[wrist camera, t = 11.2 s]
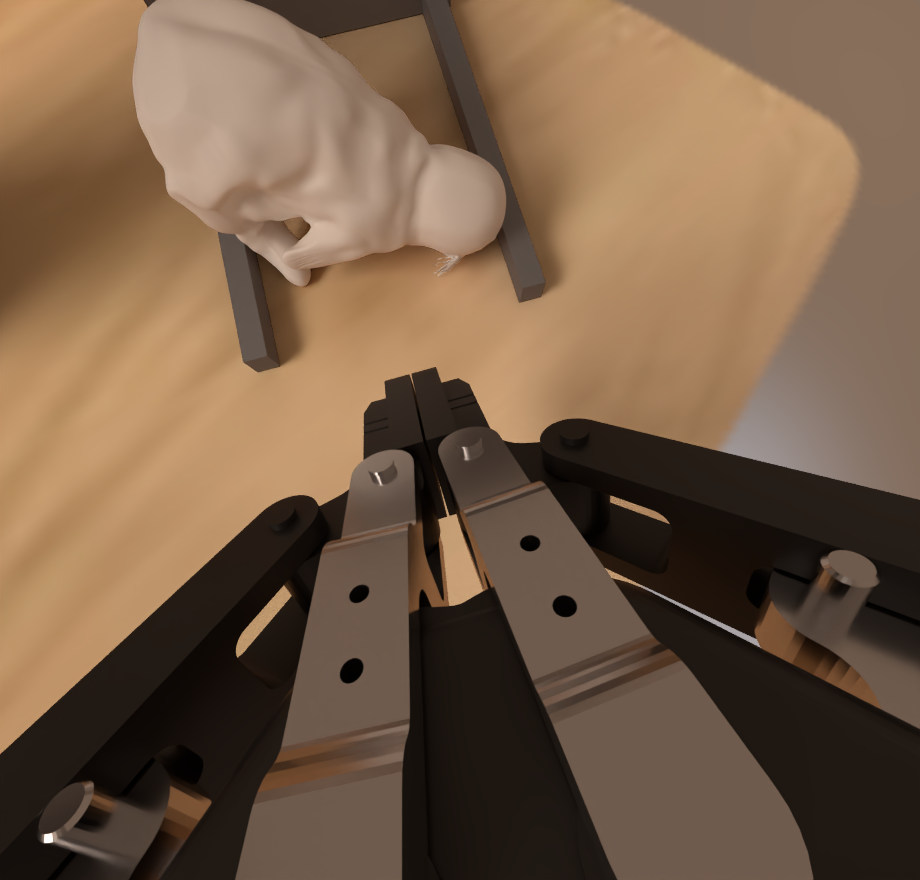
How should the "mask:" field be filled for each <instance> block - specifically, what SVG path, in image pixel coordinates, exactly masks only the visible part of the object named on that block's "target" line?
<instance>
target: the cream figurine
mask: <svg viewBox="0 0 920 880" xmlns="http://www.w3.org/2000/svg"><path fill="white" fill-rule="evenodd" d="M132 82H133V94H134V100H135V106H136V113H137V118H138V121H139V124H140V126H141V129H142V131H143V133H144V134H145V136H146V138H147V140H148V142H149V144H150V146H151V149H152V151H153V154H154V156H155V157H156V159H157V160H158V161H159V163H160V164H161V165H162V166H163V168H164V171H165V181H166V188H167V192H168V194H169V195H170V196H171V197H172V198H173V199H174V200H176V201H177V202H179V203H180V204H182V205H183V206H185V207H186V208H187V209H189V210H190V211H191V212H193V213H194V214H195V215H196V216H198V217H199V218H200V219H201V220H202V221H203V222H204V223H205V224H206V225H208V226H209V227H210V228H212V229H213V230H215V231H218V232H221V233H226V234H235V235H236V236H237V238H238V239H239V240H240V241H241V242H243V243H245V244H246V245H247V246H248V247H249V248H250V249H252V250H253V251H254V252H256V253H258V254H260V255H262V256H263V257H264V258H266V259H267V260H268V261H269V262H270V263H271V264H273V265H274V266H275V267H276V268H277V269H278V270H279V271H280V272H281V273H282V274H283V275H284V277H285V278H286V279H287V280H288V281H290V282H291V283H292V284H294V285H297V286H300V287H303V286H306V285H307V284H308V283H309V281H310V277H311V270H310V269H311V268H318V267H323V266H328V265H332V264H337V263H342V262H347V261H352V260H356V259H359V258H362V257H364V256H367V255H369V254H372V253H387V252H391V251H395V250H397V249H399V248H401V247H403V246H404V245H413V246H426V247H429V248H432V249H435V250H436V251H439V252H441V253H444V254H445V255H446V256H447V257H446V258H452V259H451V260H449V261H448V260H447V261H446V262H448V263H447V264H445V265H444V266H442V267H441V268H440V269H439V270H437V271H436V272H434V273H433V274H435V273H437V272H439V271H441V270H442V272H440V273H439V275H438V276H440V275H441V274H442V273H444V272H446V271H447V272H448V271H449V270H450V269H451V268H452V267H453V266H454V265H456V264H457V263H458V262H459V261H460V259H461V258H462V257H464V256H465V255H468V254H471V253H474V252H476V251H479V250H481V249H482V248H484V247H485V246H486V245H487V244H489V243H490V242H492V241H493V240H495V238H496V236H497V234H498V232H499V230H500V228H501V226H502V224H503V220H504V216H505V211H506V192H505V187H504V183H503V180H502V178H501V176H500V174H499V173H498V171H497V170H496V169H495V168H494V167H493V166H492V165H491V164H490V163H489V162H487V161H486V160H485V159H483V158H481V157H479V156H478V155H475V154H473V153H471V152H469V151H466V150H464V149H461V148H458V147H454V146H450V145H444V144H433V145H430V144H428V142H427V140H426V138H425V137H424V135H423V134H421V133H420V132H419V131H417V130H416V129H415V128H414V127H413V125H412V124H411V122H410V121H409V119H408V117H407V116H406V114H405V113H404V112H403V111H402V110H401V109H400V108H399V107H398V106H397V105H396V104H394V103H393V102H392V101H391V100H389V99H386V98H385V97H383V96H381V95H380V94H379V93H377V92H376V91H375V90H374V89H373V88H372V87H371V86H370V85H369V84H368V83H367V82H366V81H365V79H364V78H363V77H362V75H361V74H360V73H359V71H358V70H357V69H356V68H355V66H354V65H353V64H352V63H351V62H350V61H349V60H348V59H347V58H345V57H344V56H343V55H341V54H340V53H338V52H336V51H335V50H333V49H331V48H330V47H329V46H328V45H327V44H326V43H325V42H323V41H322V40H321V39H320V38H318V37H316V36H315V35H313V34H311V33H309V32H306V31H304V30H302V29H300V28H299V27H297V26H295V25H294V24H292V23H291V22H289V21H288V20H287V19H285V18H284V17H282V16H281V15H279V14H277V13H275V12H273V11H271V10H269V9H267V8H264V7H262V6H259V5H257V4H254V3H251V2H248V1H245V0H156V1H155V2H154V3H152V4H151V5H150V6H149V7H148V8H147V9H146V10H145V11H144V13H143V14H142V17H141V19H140V23H139V27H138V42H137V49H136V54H135V60H134V67H133V77H132ZM295 217H302V218H303V219H304V220H305V221H306V222H307V223H309V224H310V226H311V228H310V230H309V232H308V233H307V234H306V235H305V236H304V237H303V238H302V239H301V240H300V241H299V239H298V238H297V237H296V236H295V235H294V234H293V233H292V232H291V231H290V230H289V229H288V228H287V226H286V225H285V224H284V222H283V221H284V220H287V219H291V218H295ZM444 254H443V255H444ZM445 255H444V256H445ZM439 259H442V258H439ZM439 259H437V260H439ZM446 262H444V263H446ZM439 263H441V262H439ZM435 267H436V266H435Z"/></svg>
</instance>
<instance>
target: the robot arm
mask: <svg viewBox="0 0 920 880" xmlns="http://www.w3.org/2000/svg"><path fill="white" fill-rule="evenodd" d="M412 379H413V383H414V387H413V384H412V380H411V377H410V375H405V376H401V377H398V378H394V379H390V380H387V381H385V393H386V398H385V399H382V400H378V401H375V402H371V404H370V405H369V407H368V408H367V410H366V411H365V413H364V460H363V461H362V462H361V463H360V464H359V465H358V466H357V467H356V468H355V469H354V471H353V473H352V476H351V481H350V488H349V490H348V491H346V492H345V493H343V494H342V495H340V496H338V497H336V498H334V499H333V500H331V501H329V502H327V503H325V504H323V505H321V506H318V504H317V502H316V501H315V499H313V498H312V497H309V496H305V495H297V496H291V497H288V498H285V499H282V500H280V501H278V502H276V503H274V504H272V505H271V506H269V507H268V508H266V509H265V510H264V511H263V512H262V513H261V514H259V515H258V516H257V517H256V518H255V519H254V520H253V521H252V522H251V523H250V524H249V525H248V526H246V527H245V528H244V529H243V530H242V531H241V532H240V533H239V534H238V535H237V536H236V537H235V538H234V539H232V540H231V541H230V542H229V543H228V544H227V545H226V546H225V547H224V548H223V549H222V550H221V551H219V552H218V553H217V554H216V555H215V556H214V557H213V558H212V559H211V560H210V561H209V562H208V563H206V564H205V565H204V566H203V567H202V568H201V569H200V570H199V571H198V572H197V573H196V574H195V575H194V576H192V577H191V578H190V579H189V580H188V581H187V582H186V583H185V584H184V585H183V586H182V587H181V588H179V589H178V590H177V591H176V592H175V593H174V594H173V595H172V596H171V597H170V598H169V599H168V600H167V601H165V602H164V603H163V604H162V605H161V606H160V607H159V608H158V609H157V610H156V611H155V612H154V613H152V614H151V615H150V616H149V617H148V618H147V619H146V620H145V621H144V622H143V623H142V624H141V625H140V626H138V627H137V628H136V629H135V630H134V631H133V632H132V633H131V634H130V635H129V636H128V637H127V638H125V639H124V640H123V641H122V642H121V643H120V644H119V645H118V646H117V647H116V648H115V649H114V650H113V651H111V652H110V653H109V654H108V655H107V656H106V657H105V658H104V659H103V660H102V661H101V662H100V663H98V664H97V665H96V666H95V667H94V668H93V669H92V670H91V671H90V672H89V673H88V674H87V675H85V676H84V677H83V678H82V679H81V680H80V681H79V682H78V683H77V684H76V685H75V686H74V687H73V688H71V689H70V690H69V691H68V692H67V693H66V694H65V695H64V696H63V697H62V698H61V699H60V700H58V701H57V702H56V703H55V704H54V705H53V706H52V707H51V708H50V709H49V710H48V711H47V712H46V713H44V714H43V715H42V716H41V717H40V718H39V719H38V720H37V721H36V722H35V723H34V724H33V725H31V726H30V727H29V728H28V729H27V730H26V731H25V732H24V733H23V734H22V735H21V736H20V737H19V738H17V739H16V740H15V741H14V742H13V743H12V744H11V745H10V746H9V747H8V748H7V749H6V750H4V751H3V752H2V753H1V754H0V880H920V500H918V499H913V498H909V497H905V496H901V495H897V494H893V493H889V492H885V491H880V490H877V489H872V488H868V487H864V486H860V485H856V484H852V483H848V482H843V481H840V480H835V479H831V478H827V477H823V476H819V475H815V474H811V473H807V472H802V471H798V470H794V469H790V468H786V467H782V466H778V465H774V464H770V463H766V462H761V461H757V460H753V459H749V458H745V457H741V456H737V455H733V454H728V453H724V452H720V451H716V450H712V449H708V448H704V447H700V446H696V445H691V444H687V443H683V442H679V441H675V440H671V439H667V438H663V437H659V436H654V435H650V434H646V433H642V432H638V431H634V430H630V429H626V428H621V427H617V426H613V425H609V424H605V423H601V422H597V421H593V420H588V419H566V420H562V421H559V422H556V423H554V424H552V425H550V426H549V427H547V428H546V429H545V430H544V431H543V433H542V434H541V437H540V442H535V443H512V442H507V441H504V440H502V438H501V437H500V435H499V434H498V433H497V432H496V431H494V430H492V429H490V427H489V425H488V423H487V421H486V419H485V417H484V414H483V412H482V410H481V408H480V406H479V404H478V403H477V400H476V398H475V396H474V394H473V391H472V389H471V387H470V385H469V384H468V383H466V382H464V381H462V380H460V379H459V378H457V379H454V380H450V381H447V382H443V383H441V380H440V377H439V374H438V372H437V369H436V367H434V368H430V369H427V370H423V371H419V372H416V373H412ZM414 388H415V390H414ZM415 392H416V393H415ZM439 483H440V484H439ZM440 486H441V489H440ZM441 490H442V493H443V496H444V499H445V502H446V506H447V509H448V512H449V515H454V514H457V517H458V521H459V524H460V527H461V531H462V534H463V538H464V541H465V543H466V546H467V549H468V551H469V554H470V557H471V560H472V562H473V565H474V568H475V570H476V573H477V576H478V578H479V581H480V584H481V586H482V589H483V592H481V593H479V594H478V595H476V596H474V597H472V598H471V599H469V600H467V601H465V602H464V603H461V604H459V605H455V606H449V601H448V591H447V581H446V572H445V562H444V552H443V545H442V541H441V538H440V526H439V521H438V519H441V518H444V517H447V514H446V510H445V506H444V501H443V497H442V493H441ZM610 495H611V496H614V497H617V498H620V499H622V500H625V501H628V502H631V503H634V504H637V505H639V506H642V507H645V508H648V509H651V510H653V511H656V512H658V513H659V514H661V515H662V516H664V517H665V518H666V519H667V520H668V522H669V523H670V524H668V523H665V522H662V521H659V520H657V519H654V518H651V517H648V516H646V515H643V514H640V513H637V512H635V511H632V510H629V509H627V508H624V507H621V506H618V505H616V504H613V503H610ZM605 568H606V569H608V570H611V571H613V572H615V573H617V574H619V575H621V576H623V577H626V578H628V579H630V580H632V581H634V582H636V583H638V584H640V585H643V586H645V587H647V588H649V589H651V590H653V591H655V592H657V593H660V594H662V595H664V596H666V597H668V598H670V599H672V600H675V601H677V602H679V603H681V604H683V605H685V606H687V607H689V608H692V609H694V610H696V611H698V612H700V613H702V614H704V615H706V616H708V617H711V618H713V619H715V620H717V621H719V622H721V623H723V624H726V625H728V626H730V627H732V628H734V629H736V630H738V631H740V632H743V633H745V634H747V635H749V636H751V637H754V638H755V639H757V641H758V643H759V645H760V647H761V648H760V647H758V646H756V645H754V644H752V643H750V642H748V641H746V640H744V639H742V638H740V637H738V636H736V635H734V634H732V633H730V632H728V631H726V630H724V629H722V628H721V627H718V626H717V625H715V624H713V623H711V622H709V621H707V620H704V619H703V618H701V617H699V616H697V615H695V614H693V613H691V612H689V611H687V610H685V609H683V608H681V607H679V606H677V605H675V604H673V603H671V602H669V601H668V600H666V599H664V598H662V597H660V596H658V595H655V594H654V593H652V592H650V591H648V590H645V589H643V588H641V587H638V586H636V585H633V584H631V583H628V582H625V581H621V580H617V579H613V578H611V576H610V575H609V574H608V572H607V571H606V569H605ZM283 585H284V586H285V587H286V588H287V590H288V591H289V592H290V594H291V595H292V596H291V598H290V599H289V600H288V601H287V602H286V603H285V605H284V606H283V607H282V608H281V609H280V611H279V612H278V613H277V614H276V615H275V616H274V618H273V619H272V620H271V621H270V622H269V623H268V625H267V626H266V627H265V628H264V629H263V631H262V632H261V633H260V634H259V635H258V636H257V638H256V639H255V640H254V641H253V642H252V644H251V645H250V646H249V647H248V648H247V649H246V651H245V652H244V653H243V654H242V655H240V656H239V657H238V658H237V656H236V645H237V642H238V639H239V637H240V635H241V634H242V632H243V631H244V630H245V629H246V627H247V626H248V625H249V624H250V623H251V622H252V621H253V619H254V618H255V617H256V616H257V615H258V614H259V613H260V612H261V610H262V609H263V608H264V607H265V606H266V605H267V604H268V602H269V601H270V600H271V599H272V598H273V597H274V596H275V595H276V593H277V592H278V591H279V590H280V589H281V588H282V587H283Z"/></svg>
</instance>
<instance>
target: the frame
mask: <svg viewBox="0 0 920 880" xmlns="http://www.w3.org/2000/svg"><path fill="white" fill-rule="evenodd" d="M155 1H156V0H144V2H145V3H146V5H147V7H149V6H150V5H151V4H152V3H154V2H155ZM245 1H248V2H251V3H254V4H257V5H259V6H262V7H264V8H267V9H269V10H271V11H273V12H275V13H277V14H279V15H281V16H282V17H284V18H285V19H287V20H288V21H289V22H291V23H292V24H294V25H295V26H297V27H299V28H300V29H302V30H304V31H306V32H309V33H311V34H313V35H315V36H316V37H318V38H320V37H324V36H328V35H332V34H337V33H341V32H345V31H350V30H354V29H358V28H362V27H367V26H371V25H375V24H379V23H384V22H388V21H392V20H397V19H401V18H405V17H409V16H414V15H418V14H422V13H423V15H424V18H425V21H426V24H427V27H428V30H429V33H430V36H431V39H432V42H433V45H434V48H435V51H436V54H437V57H438V60H439V63H440V66H441V69H442V72H443V75H444V78H445V81H446V84H447V87H448V90H449V93H450V96H451V99H452V102H453V105H454V108H455V111H456V114H457V117H458V120H459V123H460V126H461V129H462V132H463V135H464V138H465V141H466V144H467V147H468V150H469V152H471V153H473V154H475V155H478V156H479V157H481V158H483V159H485V160H486V161H487V162H489V163H490V164H491V165H492V166H493V167H494V168H495V169H496V170H497V171H498V173H499V174H500V176H501V178H502V180H503V183H504V187H505V192H506V211H505V216H504V220H503V224H502V226H501V228H500V230H499V232H498V234H497V237H498V240H499V243H500V246H501V249H502V252H503V255H504V258H505V261H506V264H507V267H508V270H509V273H510V276H511V279H512V282H513V285H514V288H515V291H516V294H517V297H518V300H519V302H523V301H527V300H531V299H534V298H538V297H541V294H542V291H543V288H544V285H545V283H546V282H545V279H544V276H543V273H542V270H541V267H540V264H539V262H538V259H537V256H536V253H535V250H534V247H533V244H532V242H531V239H530V236H529V233H528V230H527V227H526V224H525V221H524V219H523V216H522V213H521V210H520V207H519V204H518V201H517V199H516V196H515V193H514V190H513V187H512V184H511V181H510V179H509V176H508V173H507V170H506V167H505V164H504V161H503V158H502V156H501V153H500V150H499V147H498V144H497V141H496V138H495V136H494V133H493V130H492V127H491V124H490V121H489V118H488V115H487V113H486V110H485V107H484V104H483V101H482V98H481V95H480V93H479V90H478V87H477V84H476V81H475V78H474V75H473V72H472V70H471V67H470V64H469V61H468V58H467V55H466V52H465V50H464V47H463V44H462V41H461V38H460V35H459V32H458V30H457V27H456V24H455V21H454V18H453V15H452V12H451V9H450V7H451V3H450V0H245ZM218 236H219V241H220V246H221V251H222V256H223V261H224V267H225V272H226V277H227V282H228V287H229V292H230V297H231V302H232V307H233V312H234V317H235V322H236V328H237V333H238V338H239V343H240V348H241V353H242V358H243V362H244V363H245V364H247V365H248V366H250V367H251V368H252V369H254V370H255V371H257V372H260V371H264V370H268V369H271V368H275V367H279V366H280V364H279V359H278V354H277V350H276V345H275V340H274V336H273V331H272V326H271V322H270V317H269V312H268V308H267V303H266V298H265V293H264V289H263V284H262V279H261V275H260V270H259V265H258V261H257V256H256V252H254V251H253V250H252V249H250V248H249V247H248V246H247V245H246V244H245V243H243V242H241V241H240V240H239V239H238V238H237V236H236V235H235V234H226V233H221V232H218Z"/></svg>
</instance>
